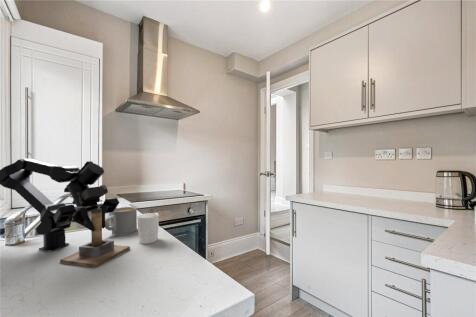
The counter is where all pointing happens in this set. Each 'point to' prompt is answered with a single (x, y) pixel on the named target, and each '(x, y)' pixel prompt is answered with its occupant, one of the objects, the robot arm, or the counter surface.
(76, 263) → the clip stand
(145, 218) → the white cup
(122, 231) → the coffee mug
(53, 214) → the robot arm
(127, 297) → the counter surface
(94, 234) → the wooden peg
